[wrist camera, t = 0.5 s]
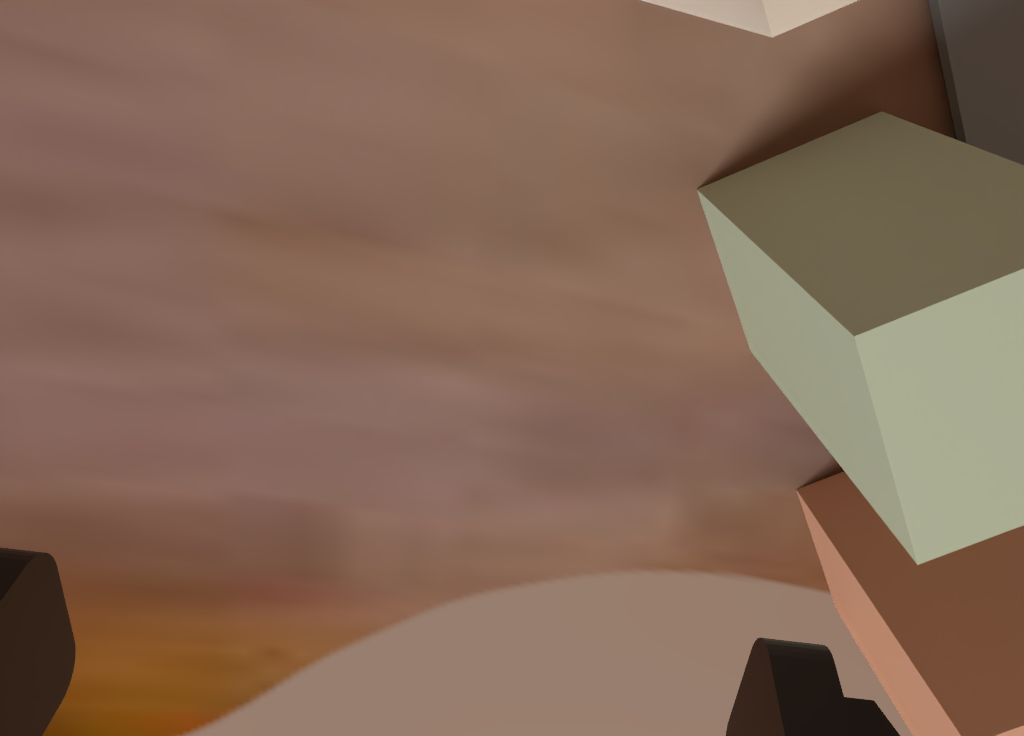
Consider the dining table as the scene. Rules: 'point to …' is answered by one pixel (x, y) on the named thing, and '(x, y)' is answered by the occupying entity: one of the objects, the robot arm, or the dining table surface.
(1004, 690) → the terracotta block
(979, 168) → the sage block
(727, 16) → the cream block
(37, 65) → the dining table surface
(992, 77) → the slate mat
